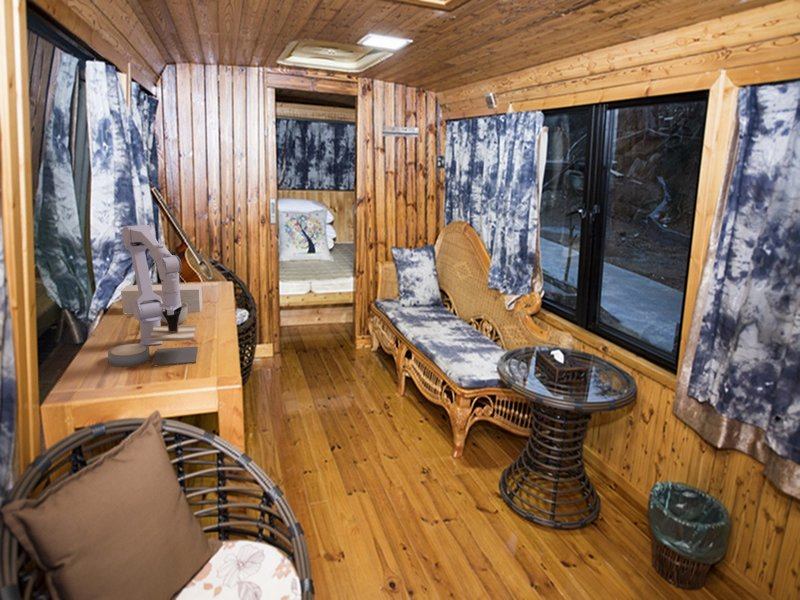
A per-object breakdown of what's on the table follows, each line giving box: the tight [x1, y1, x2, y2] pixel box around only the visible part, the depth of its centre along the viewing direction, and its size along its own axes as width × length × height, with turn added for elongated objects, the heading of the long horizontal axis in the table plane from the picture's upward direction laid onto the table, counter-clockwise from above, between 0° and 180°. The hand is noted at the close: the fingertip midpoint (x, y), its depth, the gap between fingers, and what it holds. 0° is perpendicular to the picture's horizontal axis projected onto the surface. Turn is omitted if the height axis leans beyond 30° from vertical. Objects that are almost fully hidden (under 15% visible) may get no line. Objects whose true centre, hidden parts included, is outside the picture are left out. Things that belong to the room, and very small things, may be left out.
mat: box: [151, 346, 199, 367], centre depth 201 cm, size 16×14×1 cm
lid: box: [149, 325, 197, 342], centre depth 199 cm, size 14×14×5 cm
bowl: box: [107, 343, 151, 368], centre depth 197 cm, size 13×13×4 cm
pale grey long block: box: [120, 283, 204, 315], centre depth 256 cm, size 32×11×11 cm, turn 103°
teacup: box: [160, 302, 189, 326], centre depth 237 cm, size 14×11×8 cm
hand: (173, 329), depth 199 cm, fingers closed on lid, 3 cm apart
